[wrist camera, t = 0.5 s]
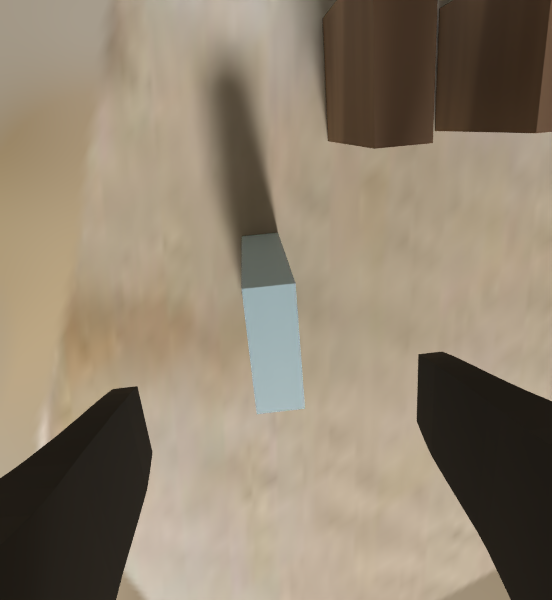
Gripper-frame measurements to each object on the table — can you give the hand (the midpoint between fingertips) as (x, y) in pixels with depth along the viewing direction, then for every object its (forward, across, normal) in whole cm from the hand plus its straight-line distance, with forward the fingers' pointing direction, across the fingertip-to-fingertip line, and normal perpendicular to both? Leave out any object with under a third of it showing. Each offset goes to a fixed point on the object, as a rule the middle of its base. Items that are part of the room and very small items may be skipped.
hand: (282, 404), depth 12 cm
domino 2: (+10, -8, -8) cm, 15 cm away
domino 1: (+10, -4, -8) cm, 13 cm away
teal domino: (+10, 0, 0) cm, 10 cm away
